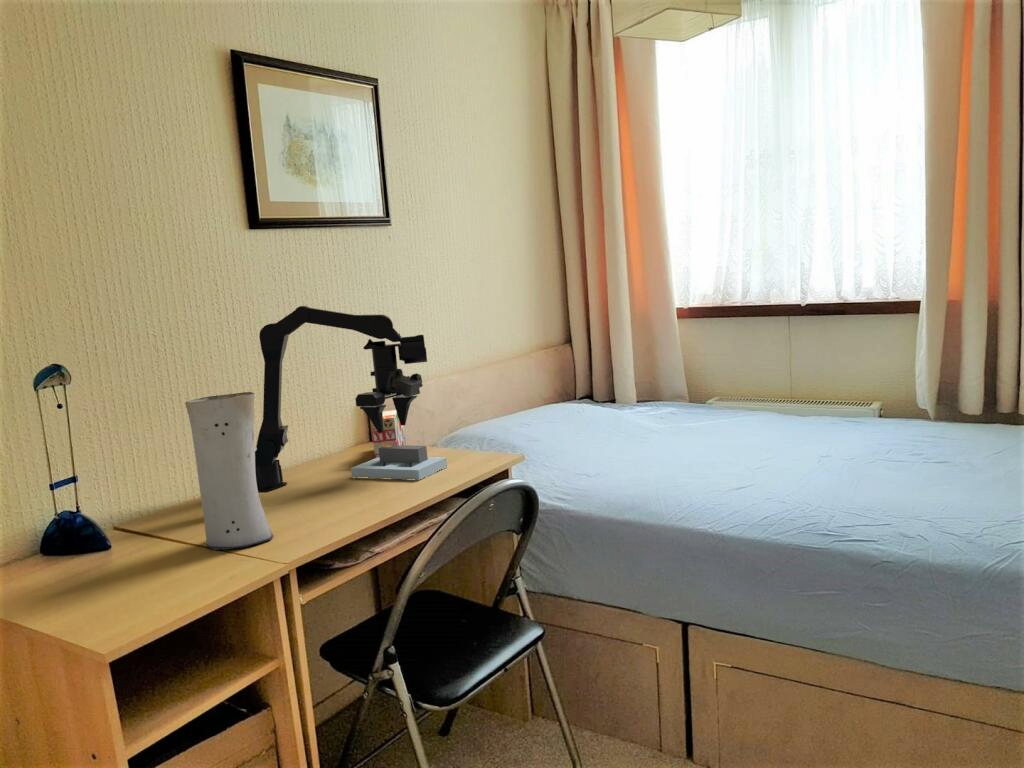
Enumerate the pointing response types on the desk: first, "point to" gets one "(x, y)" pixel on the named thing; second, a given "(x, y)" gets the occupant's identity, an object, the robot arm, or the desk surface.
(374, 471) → the keyhole board
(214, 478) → the vase
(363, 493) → the desk surface
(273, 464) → the robot arm
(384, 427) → the stack of blocks
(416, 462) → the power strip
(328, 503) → the desk surface
